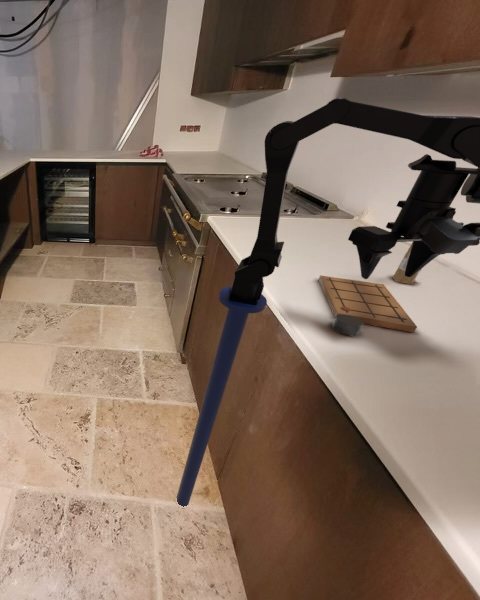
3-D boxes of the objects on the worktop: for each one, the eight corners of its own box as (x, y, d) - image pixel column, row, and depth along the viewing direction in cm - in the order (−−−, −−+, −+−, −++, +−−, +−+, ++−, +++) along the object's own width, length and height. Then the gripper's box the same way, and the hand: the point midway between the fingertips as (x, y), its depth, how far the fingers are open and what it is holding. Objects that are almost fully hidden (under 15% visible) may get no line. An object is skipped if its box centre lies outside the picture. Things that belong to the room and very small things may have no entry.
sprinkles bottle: (395, 275, 90) (421, 228, 83) (416, 281, 87) (445, 234, 80) (388, 279, 88) (414, 232, 81) (409, 286, 85) (438, 237, 78)
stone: (334, 332, 68) (339, 323, 67) (329, 321, 72) (334, 312, 70) (361, 338, 66) (366, 328, 65) (354, 325, 70) (359, 316, 69)
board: (335, 318, 72) (338, 312, 72) (317, 280, 88) (320, 274, 87) (413, 332, 68) (418, 326, 67) (380, 289, 83) (384, 283, 83)
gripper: (424, 213, 49) (376, 300, 57) (537, 210, 50) (473, 295, 58) (364, 195, 58) (330, 272, 67) (460, 193, 59) (415, 268, 68)
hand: (386, 277), depth 65 cm, fingers open, 9 cm apart
